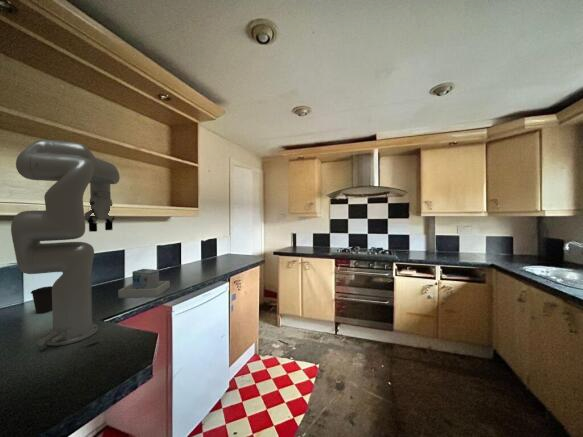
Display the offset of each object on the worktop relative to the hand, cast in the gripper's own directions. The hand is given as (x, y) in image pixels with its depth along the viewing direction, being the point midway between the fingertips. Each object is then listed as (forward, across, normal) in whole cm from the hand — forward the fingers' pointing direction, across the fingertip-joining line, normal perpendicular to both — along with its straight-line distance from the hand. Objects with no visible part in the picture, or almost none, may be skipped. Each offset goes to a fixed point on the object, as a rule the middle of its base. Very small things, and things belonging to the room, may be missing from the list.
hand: (101, 230), depth 111 cm
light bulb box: (+32, +6, -17) cm, 37 cm away
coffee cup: (+33, -14, +13) cm, 38 cm away
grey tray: (+33, +6, -17) cm, 38 cm away
